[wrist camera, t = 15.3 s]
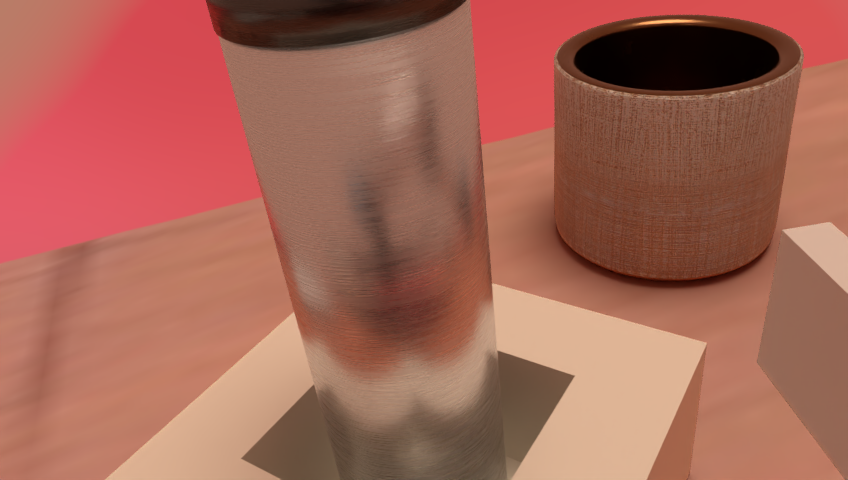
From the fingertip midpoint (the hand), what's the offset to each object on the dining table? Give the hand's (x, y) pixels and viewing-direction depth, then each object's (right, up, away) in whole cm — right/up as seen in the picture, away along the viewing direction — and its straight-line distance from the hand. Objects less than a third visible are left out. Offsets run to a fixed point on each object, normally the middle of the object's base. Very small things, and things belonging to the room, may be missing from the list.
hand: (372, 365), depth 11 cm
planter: (+13, +3, +27) cm, 30 cm away
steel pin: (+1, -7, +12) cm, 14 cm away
